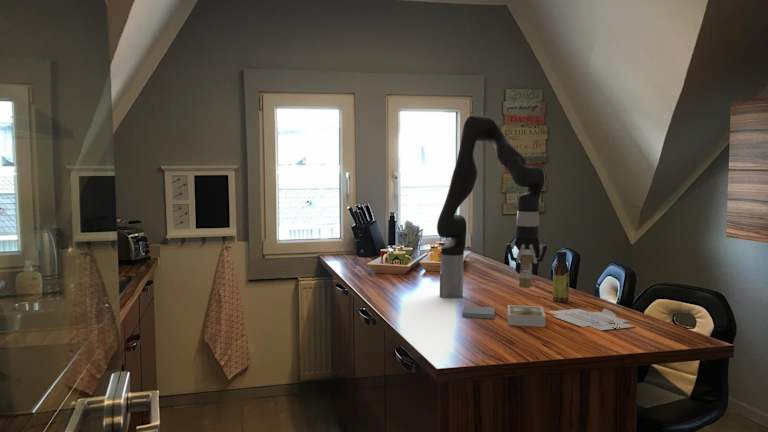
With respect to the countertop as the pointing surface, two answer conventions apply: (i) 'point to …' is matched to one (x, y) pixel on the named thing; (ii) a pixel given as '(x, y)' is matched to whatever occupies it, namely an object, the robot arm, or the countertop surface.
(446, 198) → the robot arm
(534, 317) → the shallow white open box
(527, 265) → the sprinkles bottle
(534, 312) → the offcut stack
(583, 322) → the white cloth
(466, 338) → the countertop surface
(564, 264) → the sauce bottle
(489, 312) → the ceramic tile
